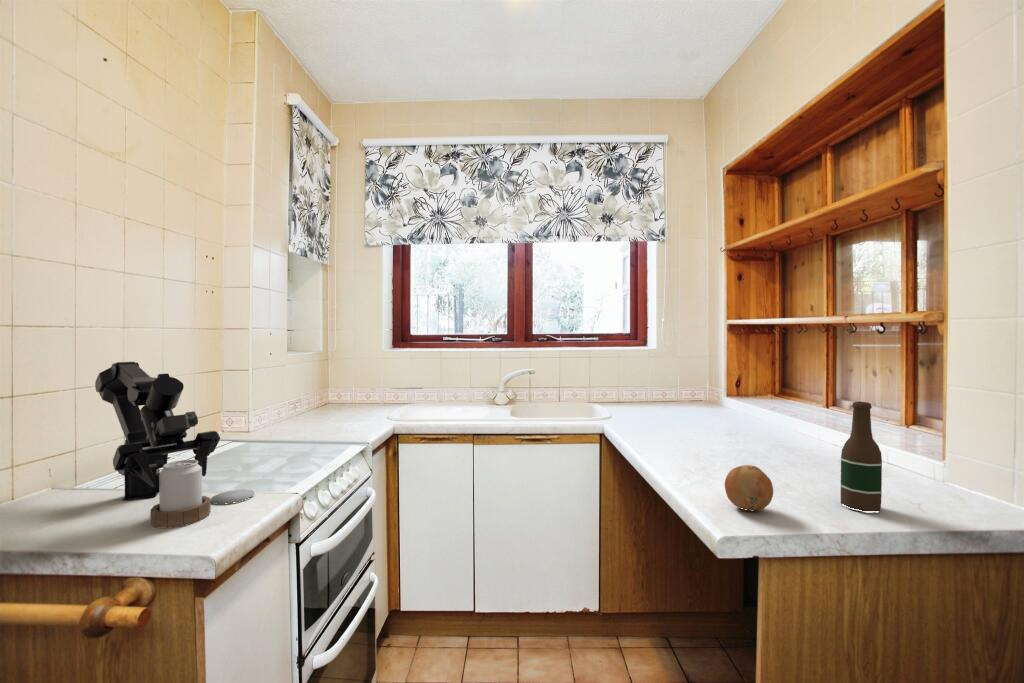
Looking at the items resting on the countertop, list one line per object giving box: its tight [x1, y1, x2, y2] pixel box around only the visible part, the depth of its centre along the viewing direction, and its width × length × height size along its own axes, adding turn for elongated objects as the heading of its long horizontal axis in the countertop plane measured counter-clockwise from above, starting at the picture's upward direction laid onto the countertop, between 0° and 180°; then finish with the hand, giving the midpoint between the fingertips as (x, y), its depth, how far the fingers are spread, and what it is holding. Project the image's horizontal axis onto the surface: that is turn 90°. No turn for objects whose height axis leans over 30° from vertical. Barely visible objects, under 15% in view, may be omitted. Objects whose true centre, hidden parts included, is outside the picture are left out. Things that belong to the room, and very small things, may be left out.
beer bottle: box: [840, 401, 883, 512], centre depth 104 cm, size 8×8×24 cm
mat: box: [210, 489, 255, 505], centre depth 112 cm, size 9×9×1 cm
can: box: [158, 459, 203, 512], centre depth 99 cm, size 8×8×12 cm
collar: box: [150, 495, 212, 529], centre depth 99 cm, size 10×10×3 cm
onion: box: [724, 464, 774, 511], centre depth 104 cm, size 10×10×10 cm
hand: (180, 480), depth 99 cm, fingers open, 9 cm apart
